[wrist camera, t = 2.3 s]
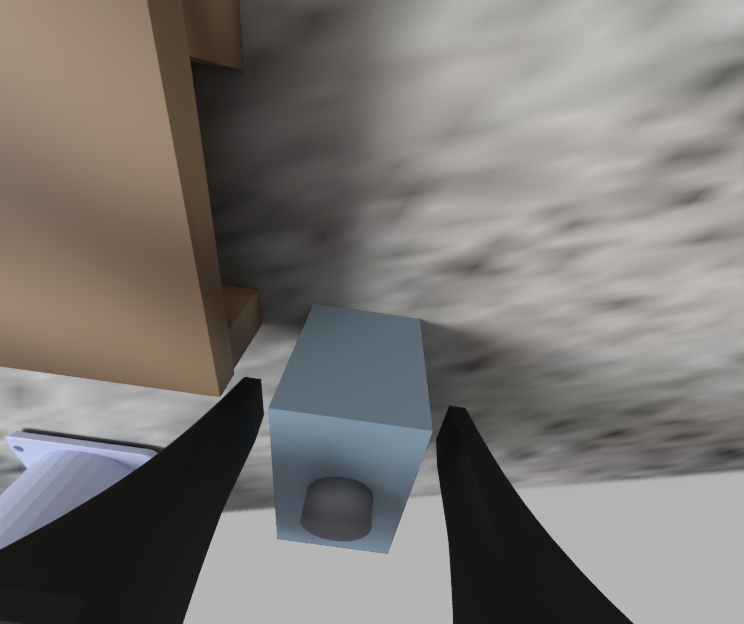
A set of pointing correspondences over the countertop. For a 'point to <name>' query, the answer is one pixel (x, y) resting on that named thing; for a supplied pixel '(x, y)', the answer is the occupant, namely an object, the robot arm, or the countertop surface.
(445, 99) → the countertop surface
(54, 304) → the stand
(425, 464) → the countertop surface
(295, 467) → the housing
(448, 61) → the countertop surface
